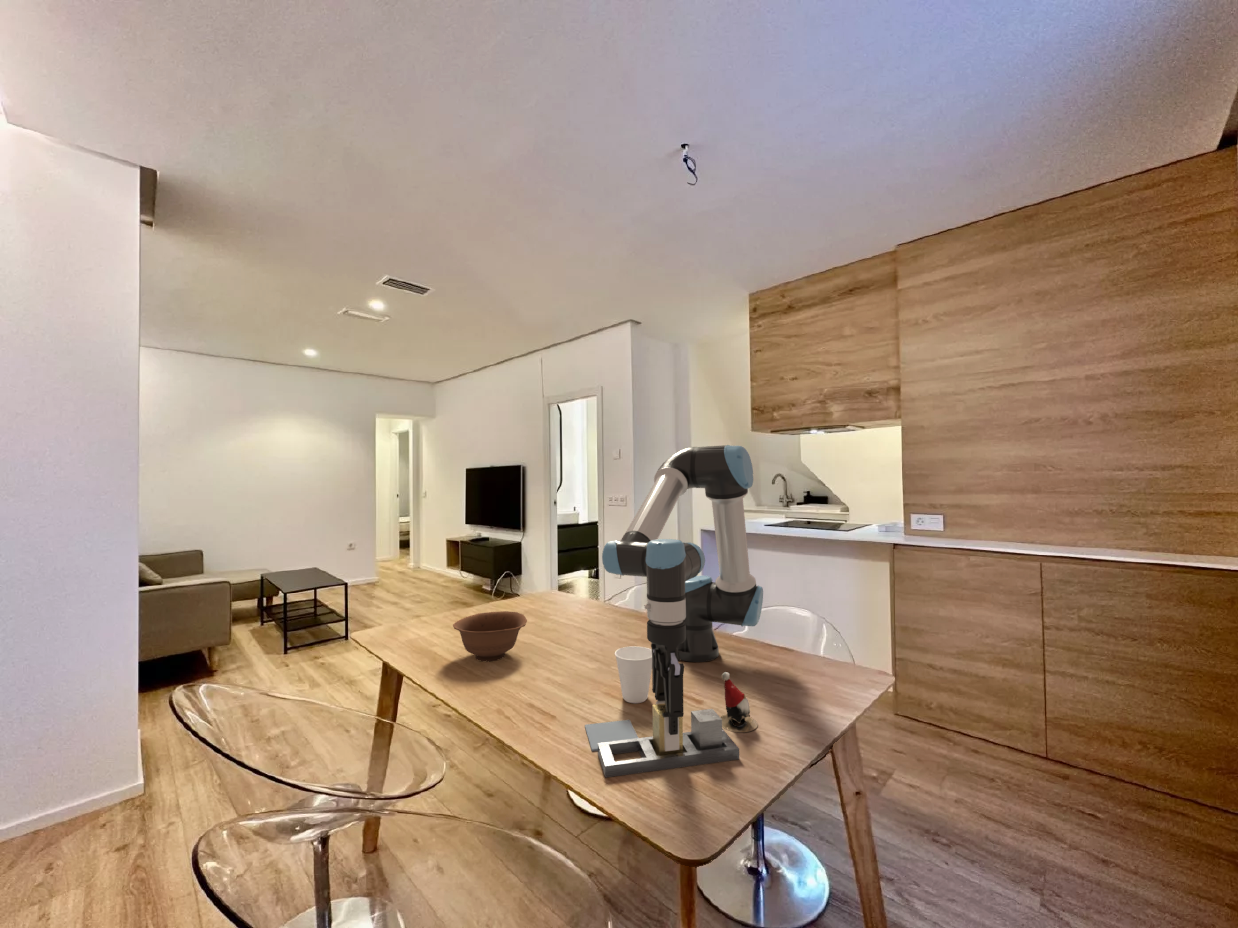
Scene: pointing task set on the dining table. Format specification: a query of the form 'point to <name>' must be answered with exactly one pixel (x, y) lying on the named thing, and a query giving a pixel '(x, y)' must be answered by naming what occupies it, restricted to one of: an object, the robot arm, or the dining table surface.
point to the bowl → (490, 633)
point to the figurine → (736, 708)
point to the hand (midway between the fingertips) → (667, 741)
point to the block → (706, 729)
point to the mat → (609, 732)
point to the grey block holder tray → (661, 762)
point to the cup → (634, 672)
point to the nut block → (659, 731)
